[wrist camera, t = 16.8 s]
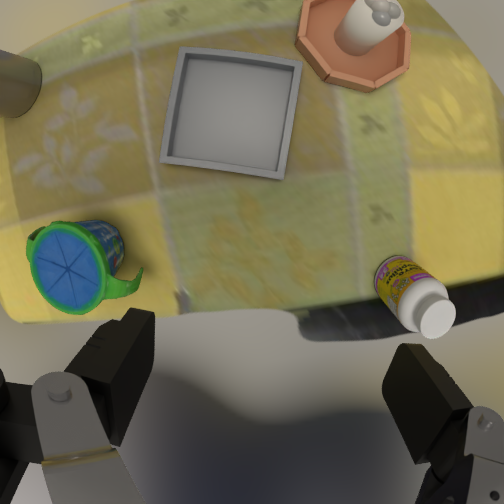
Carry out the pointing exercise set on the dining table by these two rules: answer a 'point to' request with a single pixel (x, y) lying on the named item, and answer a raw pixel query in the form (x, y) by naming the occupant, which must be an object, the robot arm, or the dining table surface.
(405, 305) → the supplement bottle
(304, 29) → the orange shallow octagonal tray
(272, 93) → the parts tray
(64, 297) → the snack cup
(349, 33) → the pebble jar
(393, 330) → the dining table surface
